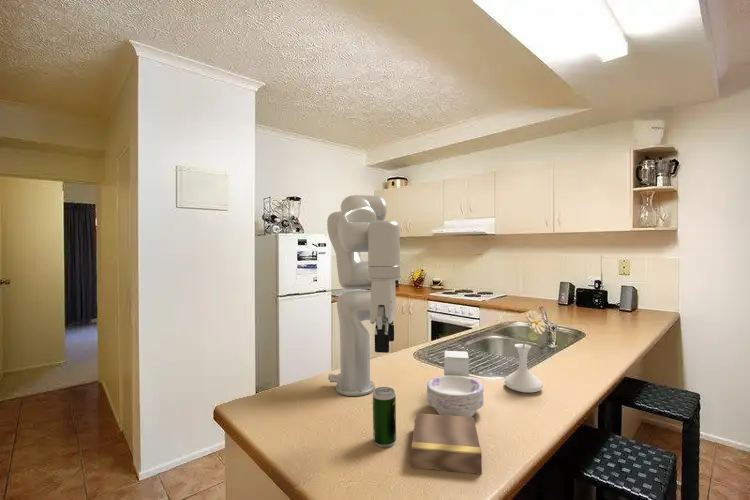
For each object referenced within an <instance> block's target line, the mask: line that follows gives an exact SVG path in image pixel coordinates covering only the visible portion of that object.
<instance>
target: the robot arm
mask: <svg viewBox="0 0 750 500" xmlns="http://www.w3.org/2000/svg"><path fill="white" fill-rule="evenodd" d="M387 208H388V207H387V204H386V201H385V200H384V198H383V197H382V196H380V195H367V194H365V195H364V194H354V195H349V196H346V197H345V198H344V199H343V200H342V202H341V204H340V210H338V211H333V212H331V213H330V214H329V215H328V217H327V220H326V226H327V227H326V228H327V233H328V238H329V241H330V243H331V245H332V247H333V250H334V253H335V257H336V258H335V259H336V268H337V277H338V282H339V285H340V287H341V288H342V289H345V290H350V291H345V292H343V293H341V294H340V295H338V296H337V300H336V308H337V315H338V316H337V317H338V322H339V343H340V344H339V349H340V353H339V354H340V358H339V361H340V372H339V373H338V374H335V373H329V374H328V378H327V380H328V381H329V382H330V383H336V386H335V390H336V392H337V393H338V394H340V395H342V396H348V397H359V396H360V397H361V396H365V395H368V394H370V393H372V392H374V389H376V385H375V383H374V381H372V380H371V360H370V359H371V352H370V351H371V350H370V349H371V348H370V345H371V344H370V343H371V342H370V333H369V330H368V329H367V327H366V326H365V325H364V324H363V323H362V322H364V321H369V323H370V324H371V325H374V324H375V329H374V352H375V353H378V354H379V353H383V354H384V353H385V354H388V353H390V342H394V341H395V325H394V320H395V318H396V306H397V305H396V299H397V298H396V297H397V296H396V295H397V294H396V293H397V292H396V281H400V280H401V258H400V257H401V256H400V255H401V254H400V253H401V248H400V244H401V243H400V240H401V239H400V236H401V235H400V234H401V233H400V225H399V223H398V222H397V221H394V220H385V219H386V217H387V212H388V210H387ZM361 253H367V260H363V259H362V257H361ZM368 289H369V290H368ZM352 290H353V291H352Z"/></svg>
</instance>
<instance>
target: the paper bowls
mask: <svg viewBox="0 0 750 500" xmlns="http://www.w3.org/2000/svg"><path fill="white" fill-rule="evenodd" d="M426 392H427V393H426V394H427V395H426V396H427V404H429V405H430V406H431V407H433V408H434V409H435V410H436V413H438V415H450V416H465V417H474V415H475V413H476V412H477V411H478V410H479V409H482V407H483V406H484V403H485V401H484V400H485V399H484V386H483V384H482V383H481V382H480V381H479V380H477V379H474V378H472V377H470V376H469V377H465V376H457V375H447V376H444V375H440V376H436V377H433V378H431V379H429V380H428V382H427V384H426Z"/></svg>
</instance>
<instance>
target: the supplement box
mask: <svg viewBox="0 0 750 500" xmlns="http://www.w3.org/2000/svg"><path fill="white" fill-rule="evenodd" d="M443 356H444V357H443V358H444V359H443V361H444V362H443V365H444V366H443V367H444V368H443V373H444V374H443V376H447V375H457V376H465V377H469V378H470V357H469V353H468V351H462V350H461V351H459V350H444V355H443Z"/></svg>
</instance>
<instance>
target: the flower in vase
mask: <svg viewBox="0 0 750 500" xmlns="http://www.w3.org/2000/svg"><path fill="white" fill-rule="evenodd" d="M525 317H526V322H527V326H528V327H529V328H528V331H527V334H526V337H524V338H523V337H522V336H520V335H517V340H519V341H522V342H523V343H516V344H514V347H515V349H516V350H517V354H518V358H519V359H518V360H519V363H518V365H519V366H518V367H517V369H516V370H515V371H513V372H512V373H509V374H508V375H507V376H506V377H505V378H504V384H505V386H506V387H508V388H509V389H511V390H513V391H515V392H519V393H520V392H521V393H535V392H539V391H541V390H542V389H543V388H544V385H543V382H542V381H541V380H540V379H539V378H538V377H537V376H536V375H535V374H533V373H532V372H531V371H530V370H529V369H528V353H529V352H530V350H531V348H532V346H531V345H529V344H526V342H527V339H529V340H531V341H532V342H535V341H537V340H538V339H539V337H538V335H543V333H545V331H546V327H545V326H546V323H545V322H544V320H543V318H542V316H541V315H539V314H538V312H537V311H535V310H533V311H532V310H531V309H530V310H529V311H528V313H526V316H525ZM530 331H531V332H530ZM536 334H537V335H536Z"/></svg>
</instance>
